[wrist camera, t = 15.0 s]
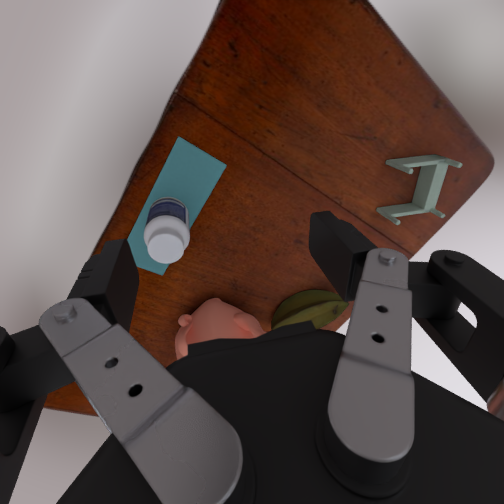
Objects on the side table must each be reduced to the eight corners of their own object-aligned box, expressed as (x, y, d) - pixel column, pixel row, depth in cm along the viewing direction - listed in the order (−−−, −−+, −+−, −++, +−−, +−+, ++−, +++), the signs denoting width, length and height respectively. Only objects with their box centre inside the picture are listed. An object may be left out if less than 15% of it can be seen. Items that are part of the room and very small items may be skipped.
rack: (375, 211, 47) (395, 225, 43) (385, 159, 43) (409, 169, 38) (420, 204, 49) (445, 217, 44) (435, 153, 44) (464, 162, 40)
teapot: (257, 281, 50) (277, 336, 40) (255, 345, 59) (271, 404, 48) (169, 292, 47) (166, 353, 37) (181, 357, 56) (181, 422, 45)
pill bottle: (141, 204, 39) (130, 239, 30) (178, 189, 39) (177, 220, 30) (160, 236, 42) (155, 275, 33) (194, 222, 42) (198, 258, 33)
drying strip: (178, 136, 35) (178, 136, 35) (226, 164, 38) (226, 165, 38) (117, 258, 42) (117, 259, 42) (162, 274, 45) (162, 275, 45)
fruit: (286, 274, 51) (299, 299, 45) (340, 286, 55) (357, 310, 49) (262, 321, 55) (271, 348, 50) (313, 328, 60) (326, 354, 54)
